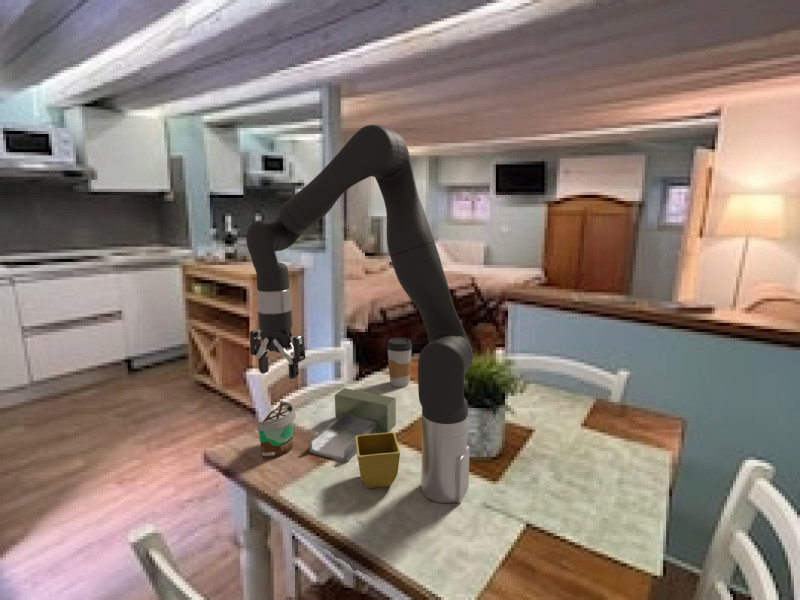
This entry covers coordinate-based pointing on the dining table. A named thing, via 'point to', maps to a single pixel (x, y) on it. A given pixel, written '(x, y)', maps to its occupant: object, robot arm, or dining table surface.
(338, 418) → the grey dustpan tray
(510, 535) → the dining table surface
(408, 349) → the coffee cup
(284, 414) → the food container
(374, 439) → the flower pot
